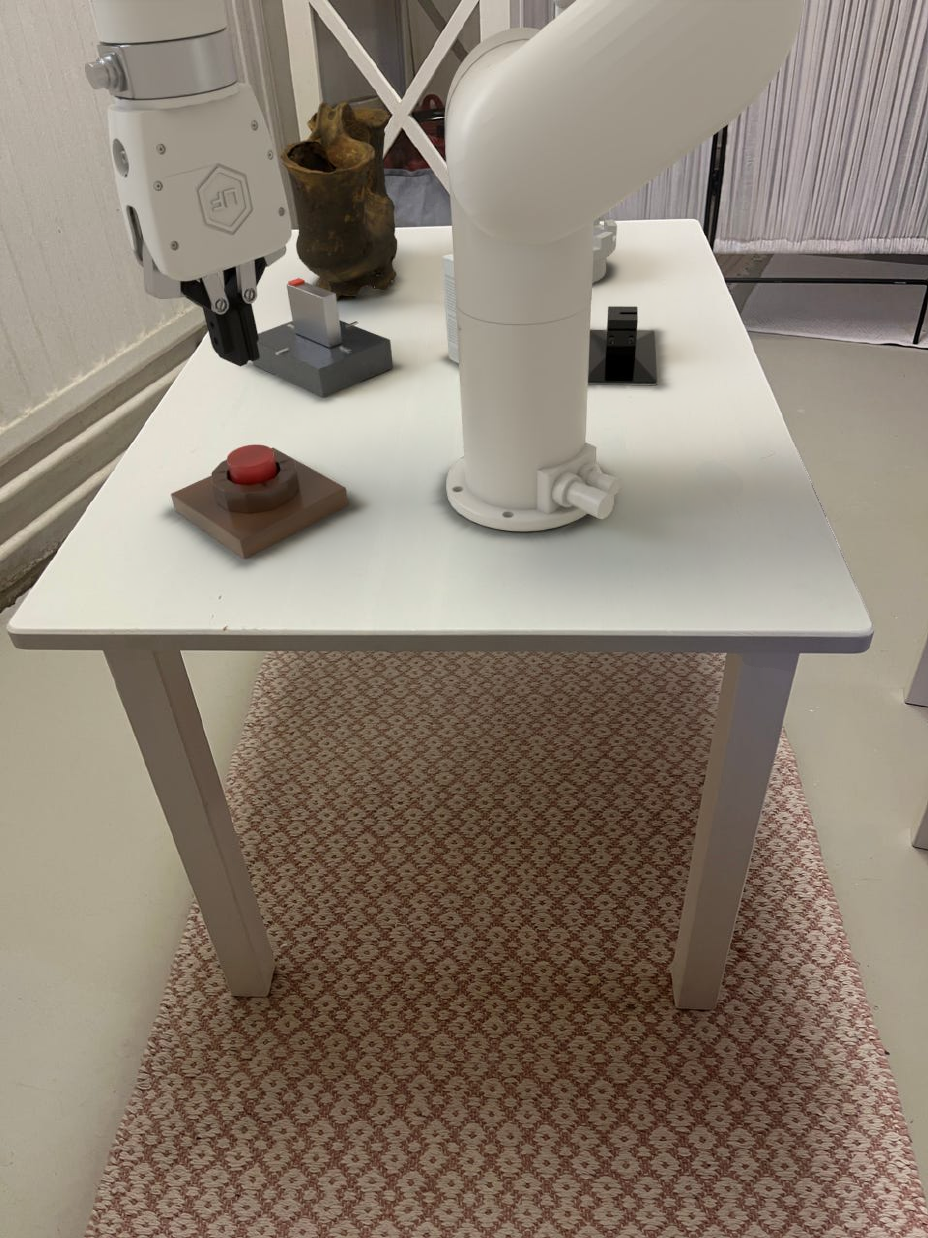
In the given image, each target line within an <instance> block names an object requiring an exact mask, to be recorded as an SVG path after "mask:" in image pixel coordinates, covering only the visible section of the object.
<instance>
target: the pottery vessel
mask: <svg viewBox="0 0 928 1238" xmlns="http://www.w3.org/2000/svg"><path fill="white" fill-rule="evenodd" d="M391 118H392V116H391V115H390V114H388V111H387V110H384V109H383V108H376V109H371V108H368V107H361V108H359V107H355V108H354V109H353V108H352V107H351V105H350V103H349V102H347V101H346V102H345V101H343V102H340V103H339V104H338V105H337V106H335V107H334V108H332V107H331V106H330V105H329V104H328V103H327V102H325V101H322V102H321V103H319V104H318V108H317V112H315V113H314V114H313V115H312V116H311V118H310V119H309V120H307V121H306V125H307V126H308V128H309V130H310V131H311V133H310V135H309V136H308V138H307V139H304V140H301V141H296V142H293V143H291V144H287V145H286V148H284V149H283V151H281V152H280V156H279V157H280V159H281V161H282V165H284V167H285V168H286V171H287V174H288V178H289V182H290V186H291V191H292V195H293V202H294V207H295V212H296V213H295V214H296V219H297V225H298V226H297V227H298V234H297V239H296V242H295V249H296V253H297V256H298V259H299V260H300V261H301V263H303V265H305V267H306V268H307V269H308V270H309V271H310V272H312V273H313V274H314V275H316V276H318V277H319V278H318V279H317V280H316V284H315V286H317V287H319V288H322V289H325V290H328V291H330V292H333V293H335V294H336V300H338V299H339V297H340V296H346V297H357V295H358V294H359V292H360V291H361V289H363V288H365V287H370V288H372V291H375V290H378V291H382V292H383V291H386V290H388V288H389V287H390V286H391V285H392V284H393V282H394V281H395V279H396V278H397V273H396V271H395V269H394V267H393V261H394V260H395V258H396V255H397V253H398V238H396V223H395V222H396V221H395V208H396V206H395V204H394V201H393V200H392V199H391V197H389V196H390V195H389V194H388V191H387V188H386V176H385V169H384V149H385V137H386V131H385V129H386V127H387V126H388V125H389V122H390V120H391Z"/></svg>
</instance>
